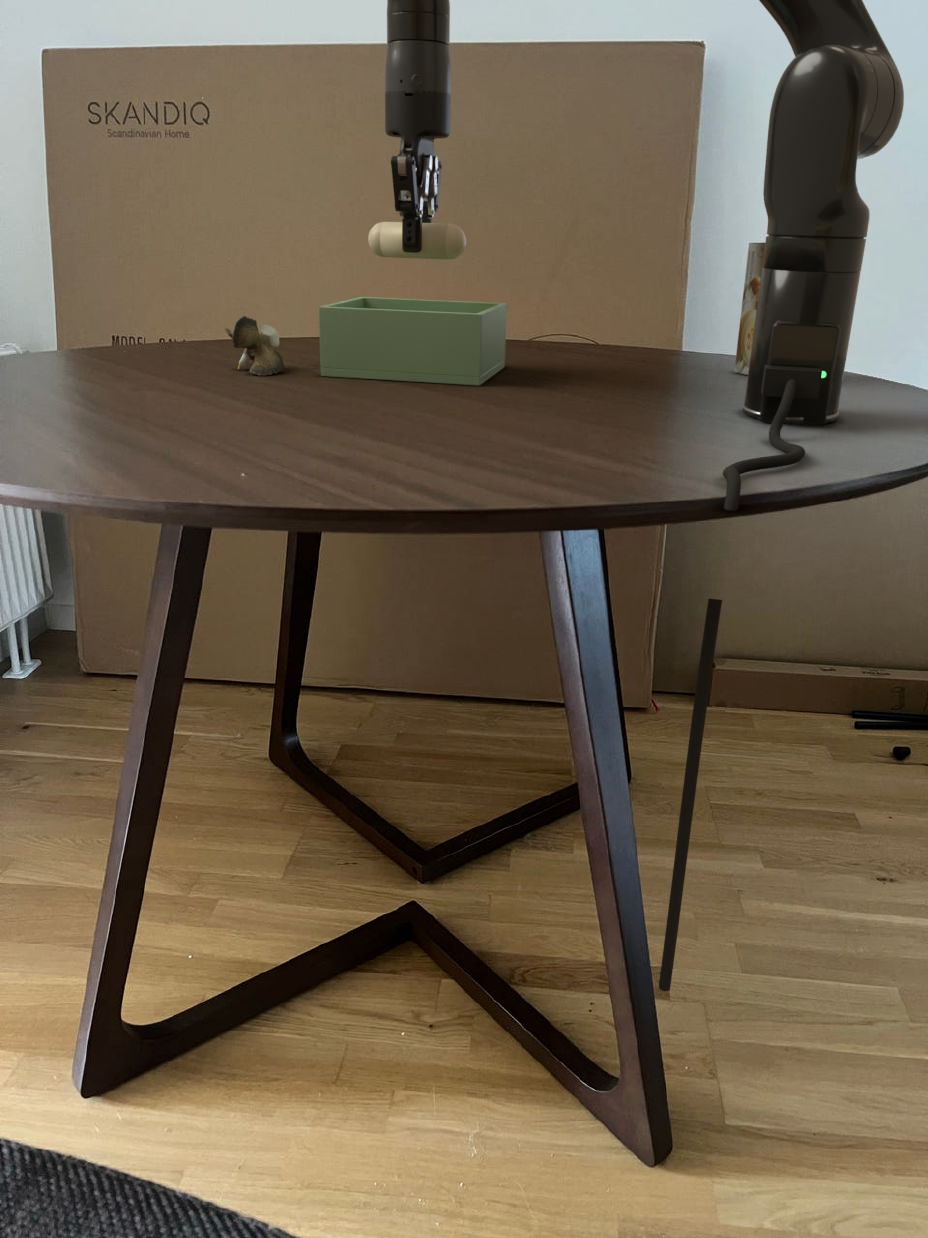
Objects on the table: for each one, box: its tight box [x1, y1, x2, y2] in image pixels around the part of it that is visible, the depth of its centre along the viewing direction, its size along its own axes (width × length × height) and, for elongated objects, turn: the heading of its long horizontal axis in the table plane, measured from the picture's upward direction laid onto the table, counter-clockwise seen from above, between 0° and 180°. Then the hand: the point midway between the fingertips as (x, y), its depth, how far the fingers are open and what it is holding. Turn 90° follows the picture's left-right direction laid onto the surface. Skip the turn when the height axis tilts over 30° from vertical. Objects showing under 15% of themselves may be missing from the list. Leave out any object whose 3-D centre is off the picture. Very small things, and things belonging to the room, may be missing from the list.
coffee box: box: [733, 242, 765, 376], centre depth 124 cm, size 9×6×16 cm
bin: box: [318, 296, 508, 387], centre depth 123 cm, size 16×20×8 cm
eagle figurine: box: [224, 315, 285, 377], centre depth 122 cm, size 8×7×9 cm
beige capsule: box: [367, 221, 467, 261], centre depth 119 cm, size 4×12×4 cm, turn 77°
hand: (417, 250), depth 119 cm, fingers closed on beige capsule, 4 cm apart
